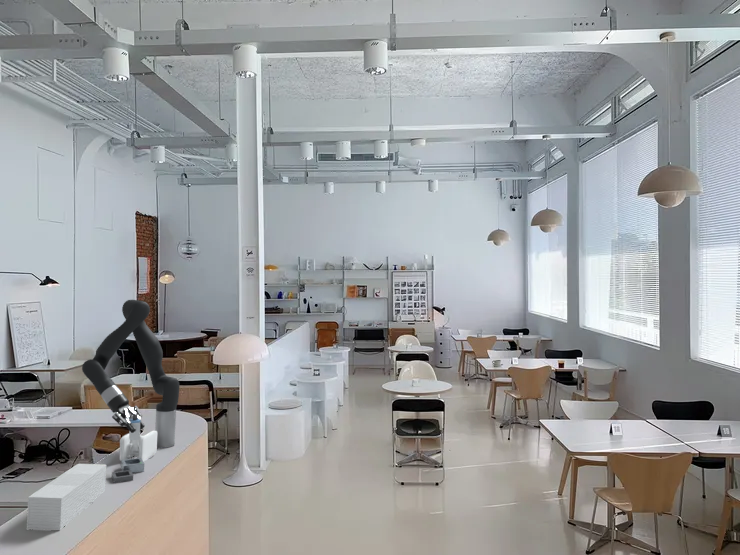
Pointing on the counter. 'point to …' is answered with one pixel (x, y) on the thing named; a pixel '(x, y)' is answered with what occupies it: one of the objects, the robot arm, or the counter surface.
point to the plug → (137, 425)
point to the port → (133, 465)
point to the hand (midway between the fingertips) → (138, 429)
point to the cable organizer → (139, 446)
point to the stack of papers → (65, 497)
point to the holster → (122, 476)
